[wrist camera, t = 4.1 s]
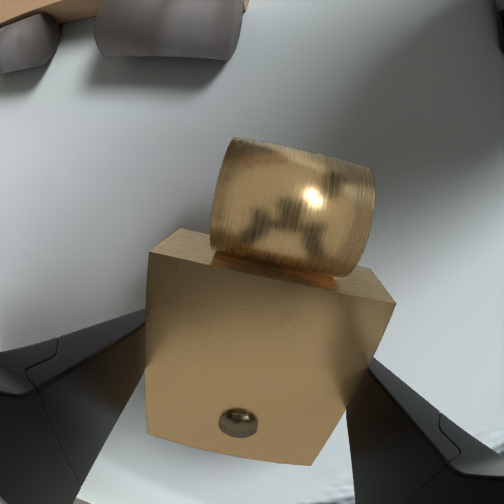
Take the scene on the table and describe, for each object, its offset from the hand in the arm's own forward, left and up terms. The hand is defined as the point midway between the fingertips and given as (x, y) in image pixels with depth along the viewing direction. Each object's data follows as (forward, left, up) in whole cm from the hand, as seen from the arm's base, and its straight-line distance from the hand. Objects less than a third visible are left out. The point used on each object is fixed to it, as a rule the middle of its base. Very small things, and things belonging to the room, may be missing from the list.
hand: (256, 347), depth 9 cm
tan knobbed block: (0, -1, -1) cm, 1 cm away
